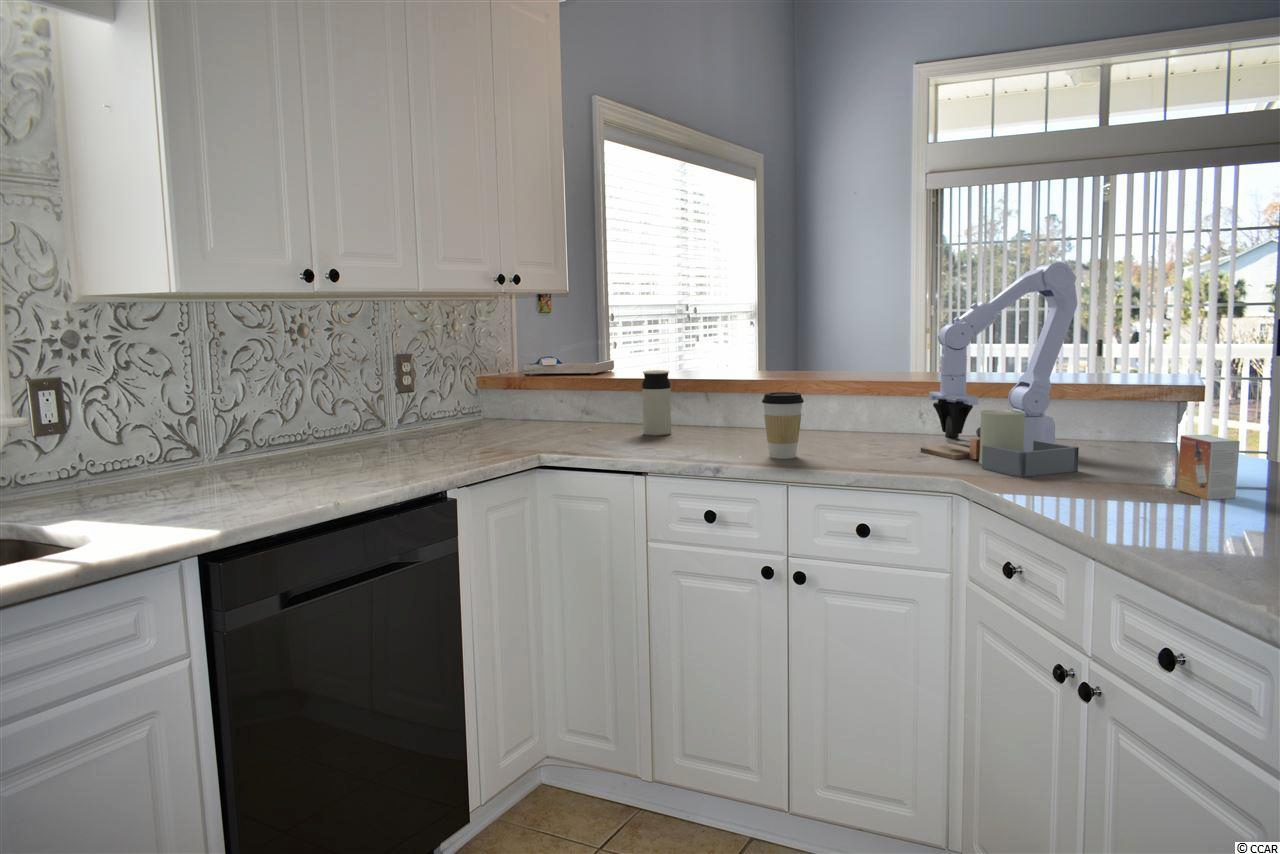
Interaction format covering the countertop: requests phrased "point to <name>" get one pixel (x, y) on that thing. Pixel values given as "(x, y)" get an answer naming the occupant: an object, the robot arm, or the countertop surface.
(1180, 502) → the countertop surface
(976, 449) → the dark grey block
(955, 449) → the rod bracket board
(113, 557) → the countertop surface
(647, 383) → the travel mug
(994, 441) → the can
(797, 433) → the coffee cup
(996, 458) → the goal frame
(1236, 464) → the small box
